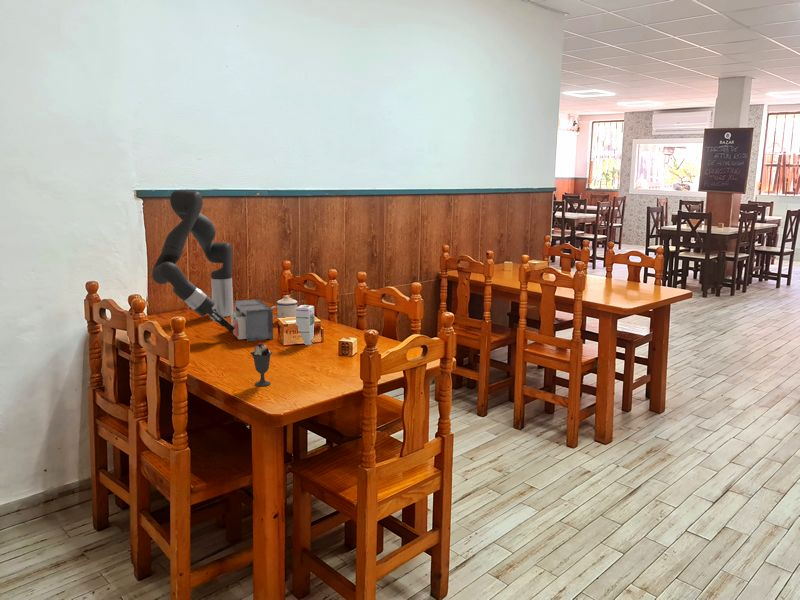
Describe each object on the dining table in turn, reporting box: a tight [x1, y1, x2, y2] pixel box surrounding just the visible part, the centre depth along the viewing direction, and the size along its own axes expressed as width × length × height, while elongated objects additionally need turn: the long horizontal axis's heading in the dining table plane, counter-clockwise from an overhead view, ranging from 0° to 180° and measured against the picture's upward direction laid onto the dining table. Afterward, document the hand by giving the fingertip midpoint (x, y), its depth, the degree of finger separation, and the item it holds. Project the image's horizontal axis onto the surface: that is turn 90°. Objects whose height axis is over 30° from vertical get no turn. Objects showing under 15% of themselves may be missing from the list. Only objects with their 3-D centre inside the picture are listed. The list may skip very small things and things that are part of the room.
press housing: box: [234, 298, 274, 342], centre depth 262 cm, size 23×10×12 cm, turn 25°
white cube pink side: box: [232, 316, 247, 340], centre depth 256 cm, size 5×9×8 cm, turn 115°
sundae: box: [249, 337, 273, 387], centre depth 200 cm, size 7×7×15 cm
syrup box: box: [295, 304, 316, 346], centre depth 249 cm, size 6×6×14 cm
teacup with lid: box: [270, 295, 299, 319], centre depth 284 cm, size 12×9×12 cm
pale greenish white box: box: [230, 310, 240, 326], centre depth 266 cm, size 5×9×8 cm, turn 115°
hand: (232, 329), depth 254 cm, fingers closed
